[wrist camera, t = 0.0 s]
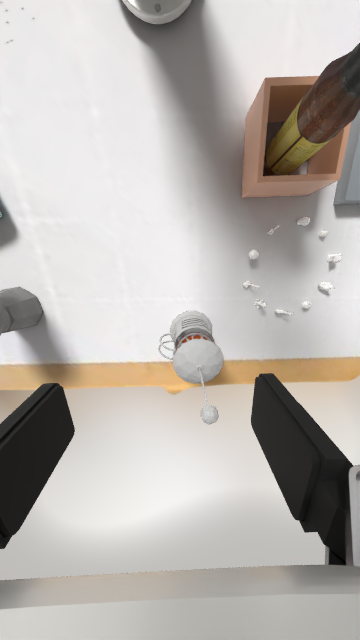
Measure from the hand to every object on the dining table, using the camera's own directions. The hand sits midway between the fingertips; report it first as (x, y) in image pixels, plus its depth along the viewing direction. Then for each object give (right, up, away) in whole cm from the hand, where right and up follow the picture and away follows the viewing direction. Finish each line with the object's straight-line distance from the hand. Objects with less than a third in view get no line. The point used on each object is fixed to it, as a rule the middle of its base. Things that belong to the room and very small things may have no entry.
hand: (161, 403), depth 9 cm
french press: (+3, +2, +34) cm, 34 cm away
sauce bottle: (+18, +33, +24) cm, 44 cm away
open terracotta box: (+18, +33, +23) cm, 44 cm away
